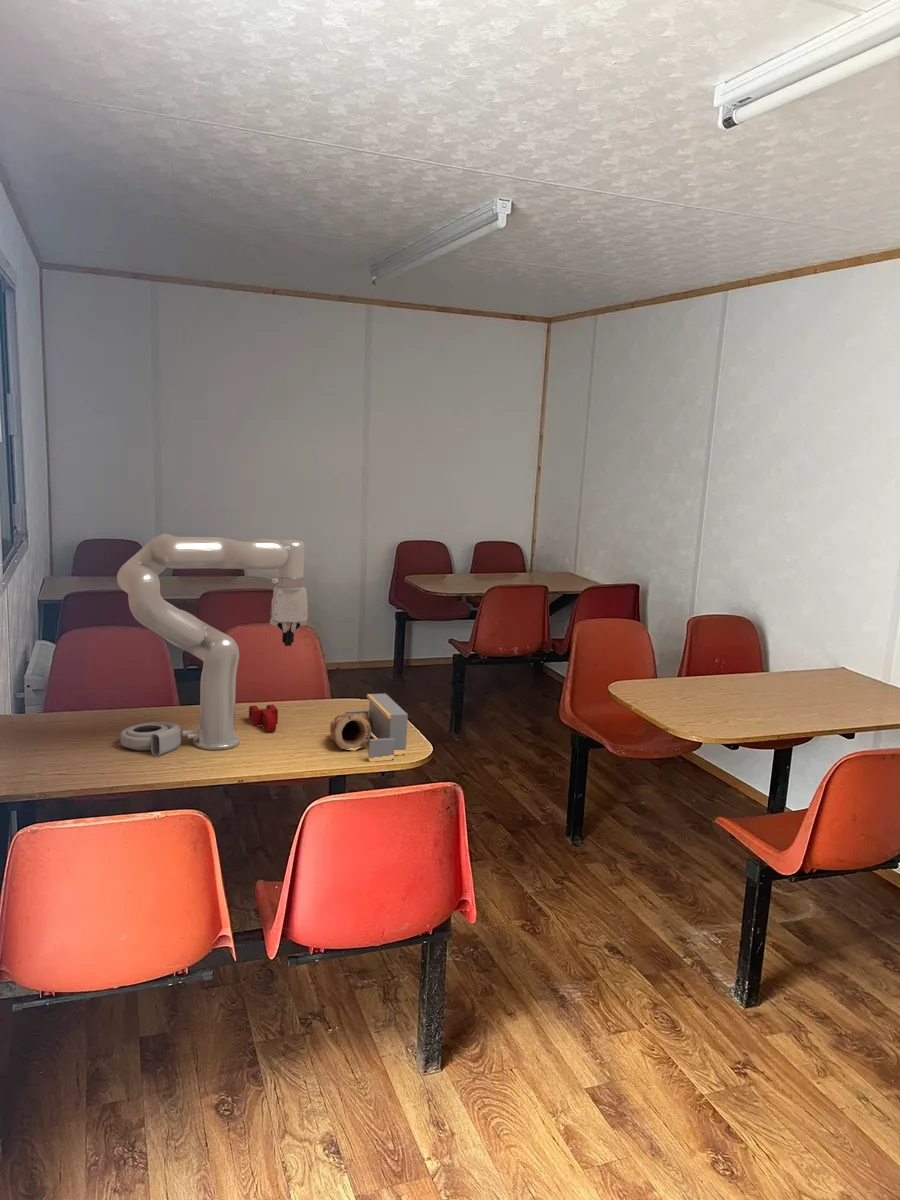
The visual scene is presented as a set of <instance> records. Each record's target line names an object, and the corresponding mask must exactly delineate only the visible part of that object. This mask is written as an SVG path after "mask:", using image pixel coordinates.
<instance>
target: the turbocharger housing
mask: <svg viewBox="0 0 900 1200" xmlns="http://www.w3.org/2000/svg"><path fill="white" fill-rule="evenodd" d="M119 737H120V745H121V746H122V747H124V748H127V749H129V750H133V751H134V750H135V751H151V754H152V755H153V756H152V757H157V758H158V757H160V756H162V755H164V754H167V753H169V752H172V751H174V750H176V749H177V748H178V747H179V746H180V745H181V743H182V728H181V726H180V725H179V724H177V723H176V722H171V721H150V722H149V721H148V722H143V723H138V724H135V725H130V726H129V727H125V729H123V730H122V731H121V732H120V736H119Z"/></svg>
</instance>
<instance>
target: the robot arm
mask: <svg viewBox="0 0 900 1200" xmlns="http://www.w3.org/2000/svg"><path fill="white" fill-rule="evenodd" d="M305 547H306V546H305V543H304V542H303V541H301V540H297V539H281V540H277V539H270V538H257V539H255V540H253V541H243V540H241V541H240V540H236V539H231V538H227V537H220V536H219V537H218V536H175V535H172V534H169V533H163V534H159V535H156V536H155V537H154V538H153V539H151V540H150V541H149V542H147V543H146V544H145V545H144V546H143V547H141V548H140V550H138V552H136V553H135V554H134V555H133V556H132V557H130V558H129V559H127V560H126V562H125V563H124V564H123V565H121V567H120V568H119V569H118V572H117V575H116V580H117V584H118V587H120V589H121V590H122V591H123V592H125V593H126V594H128V595H127V596H128V599H127V600H128V605H129V606H128V607H129V609H130V612H131V614H132V616H133V617H134V618H135V620H136V621H137V622H138V623H139V624H141V625H142V626H143V627H146V629H147V628H148V630H150V631H152V632H154V633H155V634H156V635H159V636H160V637H163V638H164V639H165V640H166V641H167V642H168V643H170V644H172V645H174V646H176V647H177V648H180V649H182V650H183V651H185V652H188V653H189V654H190V655H192V656H193V657H196V658H198V659H200V660H201V661H202V662H203V667H202V671H201V676H200V686H199V687H200V688H199V689H200V695H199V696H200V698H199V701H200V703H199V725H197V728H194V729H183V730H182V729H181V738H187V740H188V739H190V740H191V739H193V745H194V746H195V747H197V748H199V749H203V750H207V751H208V750H210V751H222V750H227V749H228V750H229V749H232V748H235V747H236V746H239V744H240V743H241V741H240V740H241V738H240V736H238V735H236V734H235V725H236V724H235V720H236V719H235V718H236V714H235V713H236V688H237V687H236V685H237V682H236V681H237V673H238V665H239V660H240V650H239V649H240V648H239V645H238V643H236V641H235V639H234V638H232V637H231V636H230V635H228V634H226V633H225V632H222V631H220V630H219V629H217V628H215V627H213V626H211V625H209V624H208V623H206V622H204V621H202V620H200V619H199V618H197V617H196V616H195V615H194V614H192V613H190V612H188V611H185V610H184V609H180V608H178V607H176V606H175V605H173V604H171V603H170V602H168V601H167V600H165V599H164V598H163V597H162V595H161V583H160V578H159V575H160V574H161V573H162V572H163V571H164V570H165V569H166V568H169V569H183V570H184V569H222V570H236V569H238V570H276V569H277V570H276V577H275V578H271V584H275V585H276V586H274V588H273V591H272V598H271V605H270V620H269V624H270V625H271V626H274V627H277V628H279V629H280V630H281V631H282V638H281V639H282V640H281V641H282V643H283V644H284V646H285V647H288V646H289V647H292V643H294V639H295V637H294V636H295V635H294V633H295V632H296V631H297V630H298V629H299V628H300V627H303V626H307V625H308V621H307V620H308V608H309V607H308V593H307V588H306V587H304V572H305V571H304V570H305V569H304V568H305V553H306V552H305V551H306V550H305ZM287 623H289V628H288V626H287Z"/></svg>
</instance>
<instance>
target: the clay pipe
mask: <svg viewBox="0 0 900 1200" xmlns="http://www.w3.org/2000/svg"><path fill="white" fill-rule="evenodd" d="M329 727H330V728H329V731H330V738H331V739H332V740H333V741H334V742H335V743H336V745H337V746H338V747H339V748H340V749H341V750H343V749H349V748H357V747H362V748H364V747H365V746H366V745H367V744H368V743H369V739H371V721H370V719H369V714H368V715H367V714H366V713H363V712H361V713H358V714H352V713H348V714H345V713H344V714H339V715H337V716H335V718H334V719H333V720H332V721H331V722H330V725H329ZM363 746H364V747H363Z"/></svg>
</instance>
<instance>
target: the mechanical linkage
mask: <svg viewBox="0 0 900 1200" xmlns="http://www.w3.org/2000/svg"><path fill="white" fill-rule="evenodd" d="M278 714H279V709H278V708H277V707H276V706H275V705H274V704H267V705H266V708H262V709H261V708H259V707H258V706H257V705H249V707H248V719H250V720H251V721H250V720H249V721H250V723H251V722H252V723H253V724H252V723H251V724H252V725H254V726H253V727H258V726H257V725H262V726H263V727H264V728H263V727H262V726H261V727H262V728H263V729H264V730H266V731H267V732H266V731H265V732H266V733H275V732H276V729H277V725H278V719H279V715H278ZM276 724H277V725H276ZM274 731H275V732H274Z"/></svg>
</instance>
